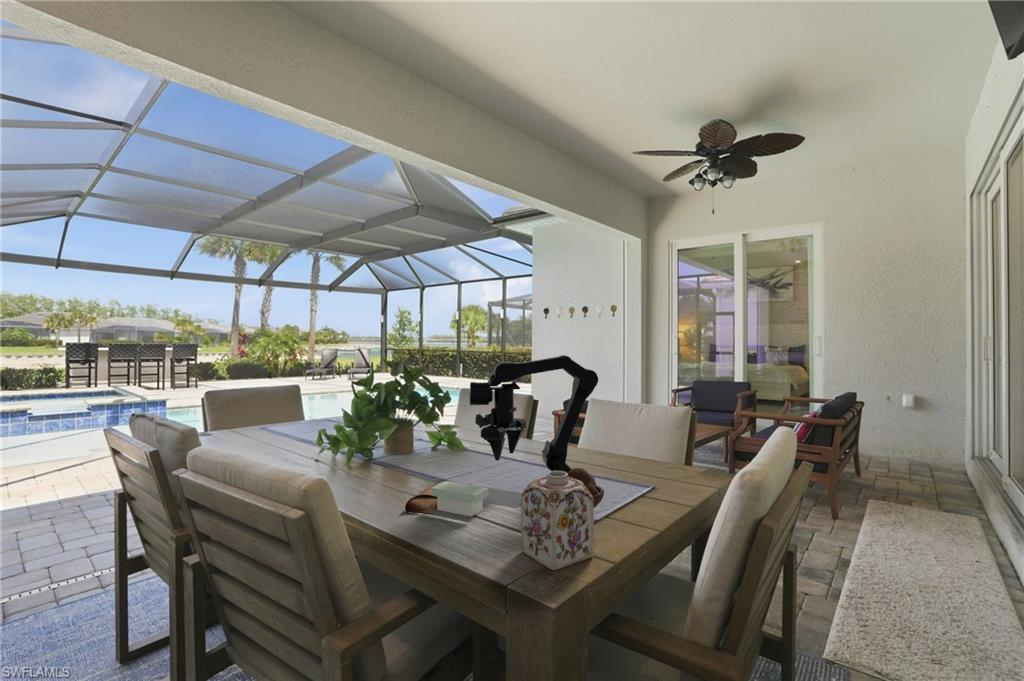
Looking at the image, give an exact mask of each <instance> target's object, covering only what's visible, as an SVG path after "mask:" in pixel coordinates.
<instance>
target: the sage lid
mask: <svg viewBox="0 0 1024 681" xmlns="http://www.w3.org/2000/svg"><path fill="white" fill-rule="evenodd" d="M437 484H438V483H437ZM485 487H486V486H482V487H481V486H477V485H471V484H465V483H460V482H453V481H447V480H446V481H443V482H441V483H439V484H438V485H436V486H434V487H432V488H431V495H433V496H439V497H444V498H450V499H456V500H461V501H467V502H472V503H477V502H478V501H480V500H482V499H483V498H485V497H487V496H488V488H489V487H488V488H485Z"/></svg>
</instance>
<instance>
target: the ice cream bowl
mask: <svg viewBox="0 0 1024 681" xmlns="http://www.w3.org/2000/svg"><path fill="white" fill-rule="evenodd" d="M571 469H572V470H570V471H569V472H568V473H567V474H568V477H570V478H574V479H576V480H579V481H582V482H583V484H584V485H585V486H586V488H587V489H588V490H589V491H590V493H591V495H592V496H593V510H594V509H595V508H596V507H597V506H598V505H599V504H600V503H601V502H602V500H603V499H604V495H605V490H604V489H603V488H602V487H601V486H599V485H597V482H596V479H595V478H594V477H593V476H592V475H591V474H590V473H589V472H588V471H587V470H585V469H583V468H582V467H575V468H571Z"/></svg>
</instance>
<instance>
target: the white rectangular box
mask: <svg viewBox="0 0 1024 681" xmlns="http://www.w3.org/2000/svg"><path fill="white" fill-rule="evenodd" d="M483 503H484V502H483V499H482V500H480V501H478V502H477V503H472V502H467V501H461V500H456V499H450V498H444V497H439V496H437V509H436V511H437V510H438V511H443V512H446V513H452V514H457V515H461V516H462V515H463V516H468V517H473V516H475V515H476V514H479V513H480V512H481V511H483V510H484V509H483Z"/></svg>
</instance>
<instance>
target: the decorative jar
mask: <svg viewBox="0 0 1024 681" xmlns="http://www.w3.org/2000/svg"><path fill="white" fill-rule="evenodd" d="M521 493H522V494H521V505H520V509H521V510H520V511H521V512H520V544H521V545H520V546H521V550H520V551H521V553H523V554H524V555H527V556H528V557H529V558H532V559H533V560H535V561H536V562H538V563H539V564H541V565H543V566H545V567H546V568H548V569H550V570H551V569H552V570H551V571H553V570H554V571H558V570H560V569H563V568H565V567H568V566H571V565H574V564H577V563H580V562H582V561H584V560H588V559H591V558H592V557H594V547H595V546H594V544H595V543H594V540H595V539H594V538H595V537H594V536H595V533H594V531H595V527H594V525H595V523H594V509H593V496H592V495H591V493H590V491H589V490H588V489H587V488H586V486H585V485H584V484H583V482H582V481H579V480H576V479H574V478H570V477H568V474H567V473H566V472H564V471H551V470H550V471H548V472H547V473H546V476H540V477H537V478H534V479H533V480H531V482H530V483H529V484H528V485H527V486H526V487H525V488H524V489H523V491H522V492H521Z"/></svg>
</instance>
